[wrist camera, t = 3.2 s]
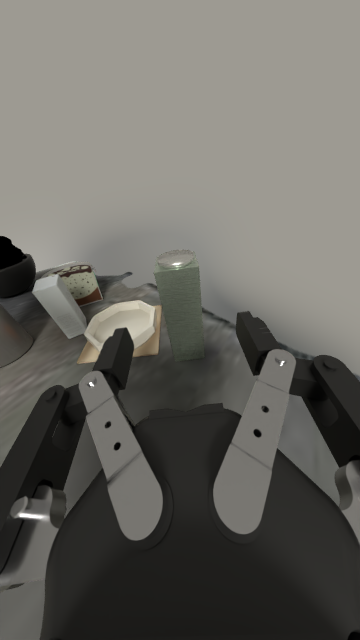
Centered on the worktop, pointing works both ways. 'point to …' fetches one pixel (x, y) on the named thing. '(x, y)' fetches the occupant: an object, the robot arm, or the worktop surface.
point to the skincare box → (60, 305)
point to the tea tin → (181, 302)
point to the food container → (79, 282)
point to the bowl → (123, 323)
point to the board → (145, 350)
